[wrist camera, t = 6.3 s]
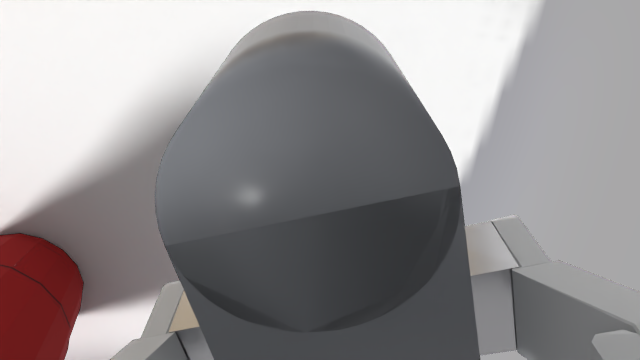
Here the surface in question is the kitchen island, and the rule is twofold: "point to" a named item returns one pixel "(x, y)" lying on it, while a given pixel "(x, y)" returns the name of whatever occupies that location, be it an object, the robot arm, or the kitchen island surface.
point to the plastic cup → (36, 298)
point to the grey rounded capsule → (317, 204)
